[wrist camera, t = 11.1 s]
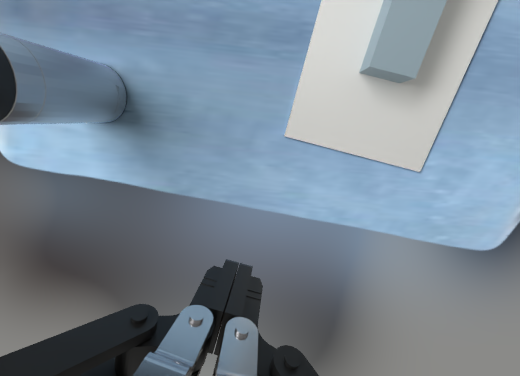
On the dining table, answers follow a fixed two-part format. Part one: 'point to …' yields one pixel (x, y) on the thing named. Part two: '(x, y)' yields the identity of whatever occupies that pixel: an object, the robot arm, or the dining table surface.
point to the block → (401, 38)
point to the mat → (381, 83)
